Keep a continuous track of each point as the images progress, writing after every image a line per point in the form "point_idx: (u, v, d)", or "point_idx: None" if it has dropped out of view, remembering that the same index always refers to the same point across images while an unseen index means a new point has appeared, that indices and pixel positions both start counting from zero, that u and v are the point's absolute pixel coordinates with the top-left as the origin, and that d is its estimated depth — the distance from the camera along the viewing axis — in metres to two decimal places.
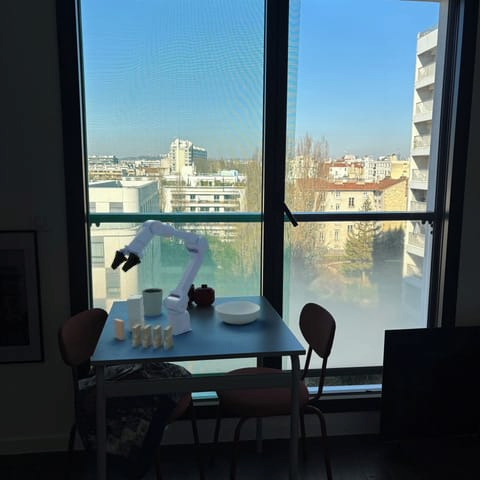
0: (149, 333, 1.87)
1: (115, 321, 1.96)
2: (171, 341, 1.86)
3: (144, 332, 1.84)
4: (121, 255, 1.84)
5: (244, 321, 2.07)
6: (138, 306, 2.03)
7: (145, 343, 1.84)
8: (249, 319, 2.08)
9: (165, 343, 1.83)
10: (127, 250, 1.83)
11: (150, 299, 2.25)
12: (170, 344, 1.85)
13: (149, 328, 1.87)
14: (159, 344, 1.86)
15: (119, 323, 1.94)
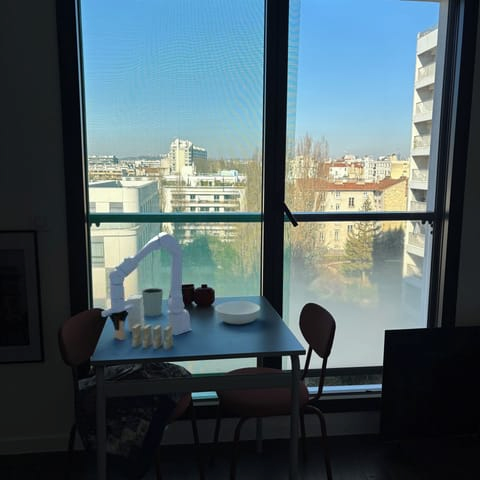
0: (149, 333, 1.87)
1: None
2: (171, 341, 1.86)
3: (144, 332, 1.84)
4: (119, 314, 1.96)
5: (244, 321, 2.07)
6: (138, 306, 2.03)
7: (145, 343, 1.84)
8: (249, 319, 2.08)
9: (165, 343, 1.83)
10: None
11: (150, 299, 2.25)
12: (170, 344, 1.85)
13: (149, 328, 1.87)
14: (159, 344, 1.86)
15: (119, 323, 1.94)
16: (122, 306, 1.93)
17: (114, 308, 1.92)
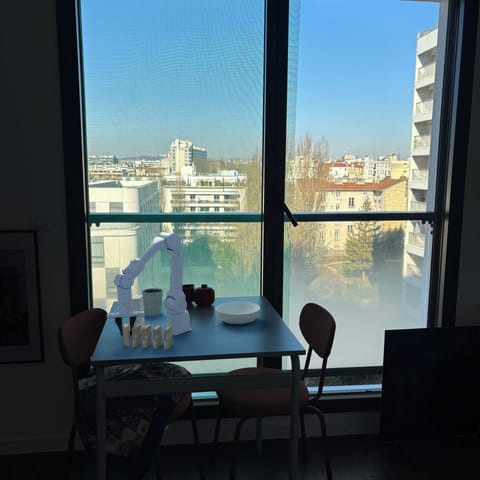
0: (149, 333, 1.87)
1: None
2: (171, 341, 1.86)
3: (144, 332, 1.84)
4: None
5: (244, 321, 2.07)
6: (138, 306, 2.03)
7: (145, 343, 1.84)
8: (249, 319, 2.08)
9: (165, 343, 1.83)
10: None
11: (150, 299, 2.25)
12: (170, 344, 1.85)
13: (149, 328, 1.87)
14: (159, 344, 1.86)
15: None
16: (125, 312, 1.85)
17: (118, 312, 1.86)
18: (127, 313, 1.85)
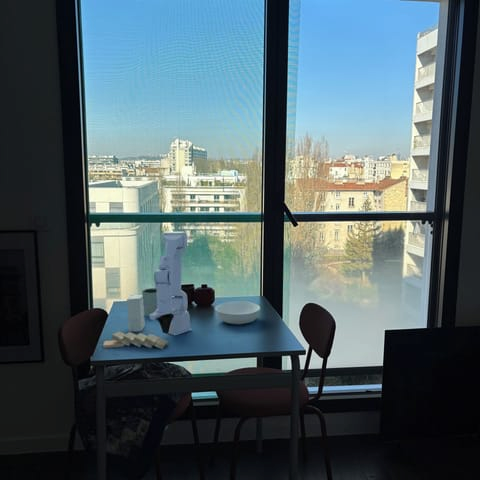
0: (133, 336, 1.89)
1: None
2: (162, 340, 1.87)
3: (126, 339, 1.86)
4: None
5: (244, 321, 2.07)
6: (138, 306, 2.03)
7: (136, 343, 1.85)
8: (249, 319, 2.08)
9: (156, 345, 1.83)
10: None
11: (150, 299, 2.25)
12: (163, 342, 1.85)
13: (129, 334, 1.89)
14: None
15: None
16: (170, 308, 1.82)
17: (162, 310, 1.81)
18: (171, 309, 1.83)
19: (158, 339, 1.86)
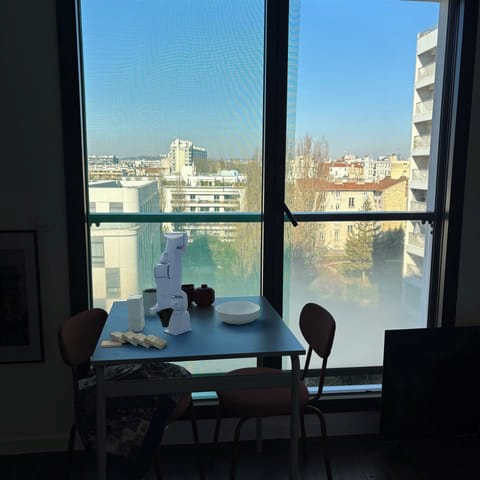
0: (132, 335, 1.90)
1: None
2: (162, 340, 1.87)
3: (124, 337, 1.88)
4: None
5: (244, 321, 2.07)
6: (138, 306, 2.03)
7: (133, 341, 1.86)
8: (249, 319, 2.08)
9: (155, 345, 1.83)
10: None
11: (150, 299, 2.25)
12: (162, 342, 1.85)
13: (129, 332, 1.91)
14: None
15: None
16: (170, 302, 1.82)
17: (162, 304, 1.80)
18: (171, 303, 1.82)
19: (157, 339, 1.86)
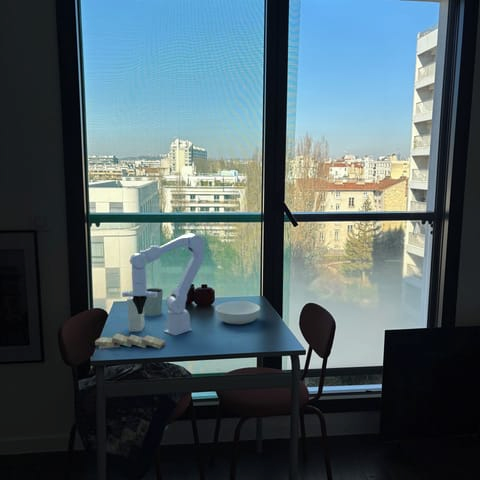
0: (121, 337, 1.88)
1: None
2: (159, 340, 1.87)
3: (116, 340, 1.85)
4: None
5: (244, 321, 2.07)
6: None
7: (127, 343, 1.86)
8: (249, 319, 2.08)
9: (154, 346, 1.84)
10: None
11: (150, 299, 2.25)
12: (160, 342, 1.86)
13: (117, 335, 1.89)
14: None
15: None
16: (138, 291, 1.92)
17: (132, 291, 1.94)
18: (140, 292, 1.92)
19: (155, 339, 1.87)
